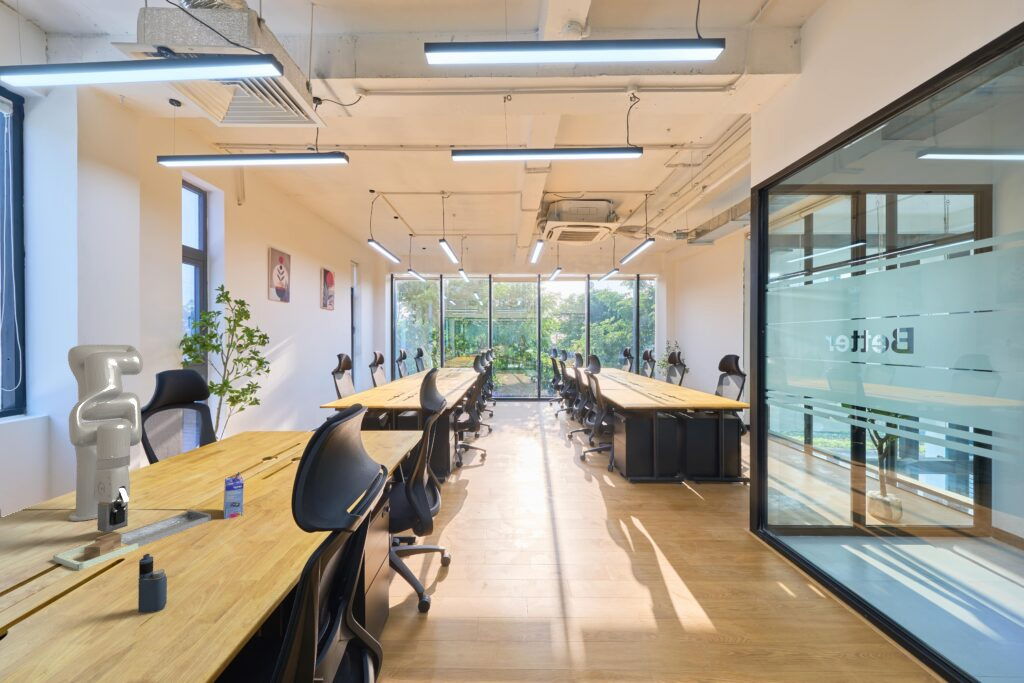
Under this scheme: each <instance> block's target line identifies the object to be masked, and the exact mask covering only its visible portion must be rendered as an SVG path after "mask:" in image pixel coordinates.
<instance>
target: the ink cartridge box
mask: <svg viewBox="0 0 1024 683" xmlns="http://www.w3.org/2000/svg"><path fill="white" fill-rule="evenodd" d="M240 474H241V473H240V472H239V471H238V472H237V474H236V475H235V477H228V478H225V479H224V490H223V492H224V494H223V510H222V511H223V512H222V513H223V519H224V520H227V519H232V518H238V517H242V516H243V513H244V512H243V509H244V507H243V506H244V484H245V483H244V480H243V476H240Z"/></svg>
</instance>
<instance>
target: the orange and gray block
mask: <svg viewBox="0 0 1024 683" xmlns="http://www.w3.org/2000/svg"><path fill="white" fill-rule="evenodd" d="M117 500H121V499H120V498H118V499H116V501H117ZM119 503H120V502H118V503H116V506H117V505H118V504H119ZM128 503H129V502H128ZM128 503H127V504H126V509H125V522H123V523H120V524H117V525H114V526H112V525H111V512H113V511H112V504H111V503H110V504H108V503H103V502H99V504H98V518H97V531H99V532H103V533H106V534H108V533H111V532H114V531H116V530H119V529H122V528H126V527H128V525H129V524H128V517H129V516H128V515H129V514H128V513H129V512H128V511H129V509H128V508H129V507H128V506H129V504H128Z"/></svg>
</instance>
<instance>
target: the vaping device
mask: <svg viewBox="0 0 1024 683" xmlns="http://www.w3.org/2000/svg"><path fill="white" fill-rule="evenodd" d="M138 562H139V564H138V566H139V568H138V586H137V587H138V588H137V589H138V604H137V608H138V610H137V613H140V614H141V613H142V614H143V613H157V612H160V611H162V610H164V609H165V607H166V605H167V601H168V600H167V599H168V598H167V596H168V590H167V589H168V588H167V587H168V577H167V575H166V573H165V569H158V570H155V571H154V556H151V555H150V553H145V554H143V556H142V558H141V559H139V561H138Z"/></svg>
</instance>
